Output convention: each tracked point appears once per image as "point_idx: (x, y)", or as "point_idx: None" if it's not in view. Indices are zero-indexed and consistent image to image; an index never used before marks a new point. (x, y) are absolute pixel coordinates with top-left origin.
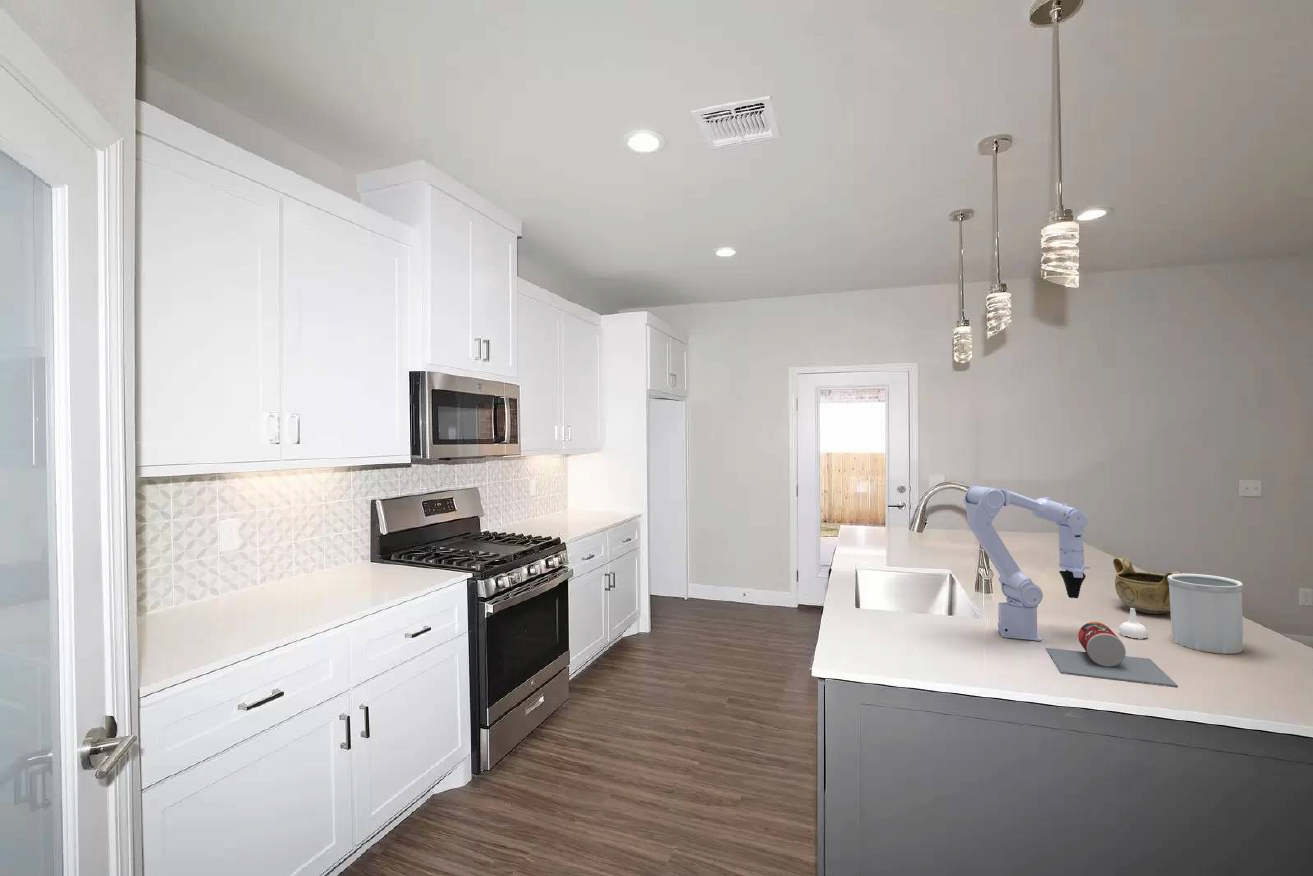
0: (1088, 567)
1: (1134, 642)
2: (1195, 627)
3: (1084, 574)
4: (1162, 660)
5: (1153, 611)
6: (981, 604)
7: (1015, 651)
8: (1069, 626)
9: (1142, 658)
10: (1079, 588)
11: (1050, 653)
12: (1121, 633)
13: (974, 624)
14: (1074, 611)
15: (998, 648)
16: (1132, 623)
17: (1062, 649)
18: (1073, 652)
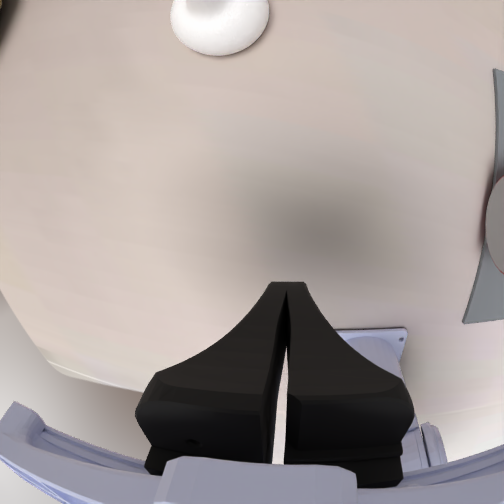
0: (356, 501)
1: (314, 30)
2: None
3: (328, 406)
4: (477, 33)
5: (1, 3)
6: (97, 381)
7: (470, 372)
8: (186, 215)
9: (501, 90)
10: (324, 323)
11: (497, 318)
12: (238, 51)
13: (285, 427)
14: (22, 178)
15: (452, 396)
16: (227, 2)
17: (474, 290)
18: (493, 268)
